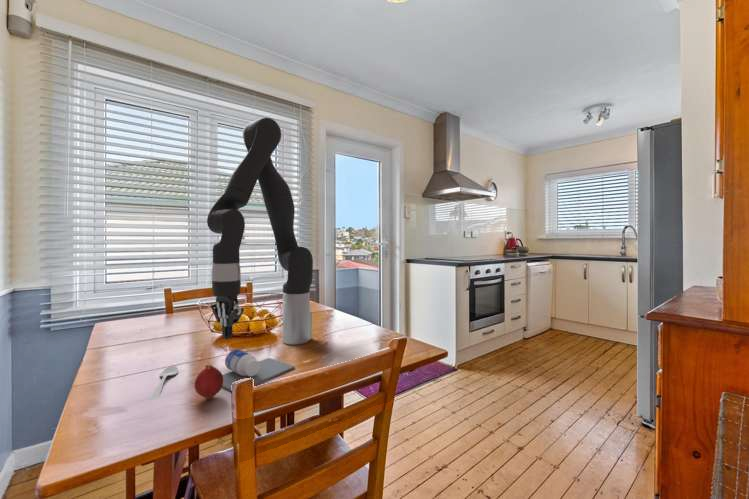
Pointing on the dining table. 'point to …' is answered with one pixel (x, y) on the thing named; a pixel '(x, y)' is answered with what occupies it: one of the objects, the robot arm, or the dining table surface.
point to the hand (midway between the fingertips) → (227, 337)
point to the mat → (266, 371)
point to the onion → (209, 382)
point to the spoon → (169, 369)
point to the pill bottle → (242, 363)
